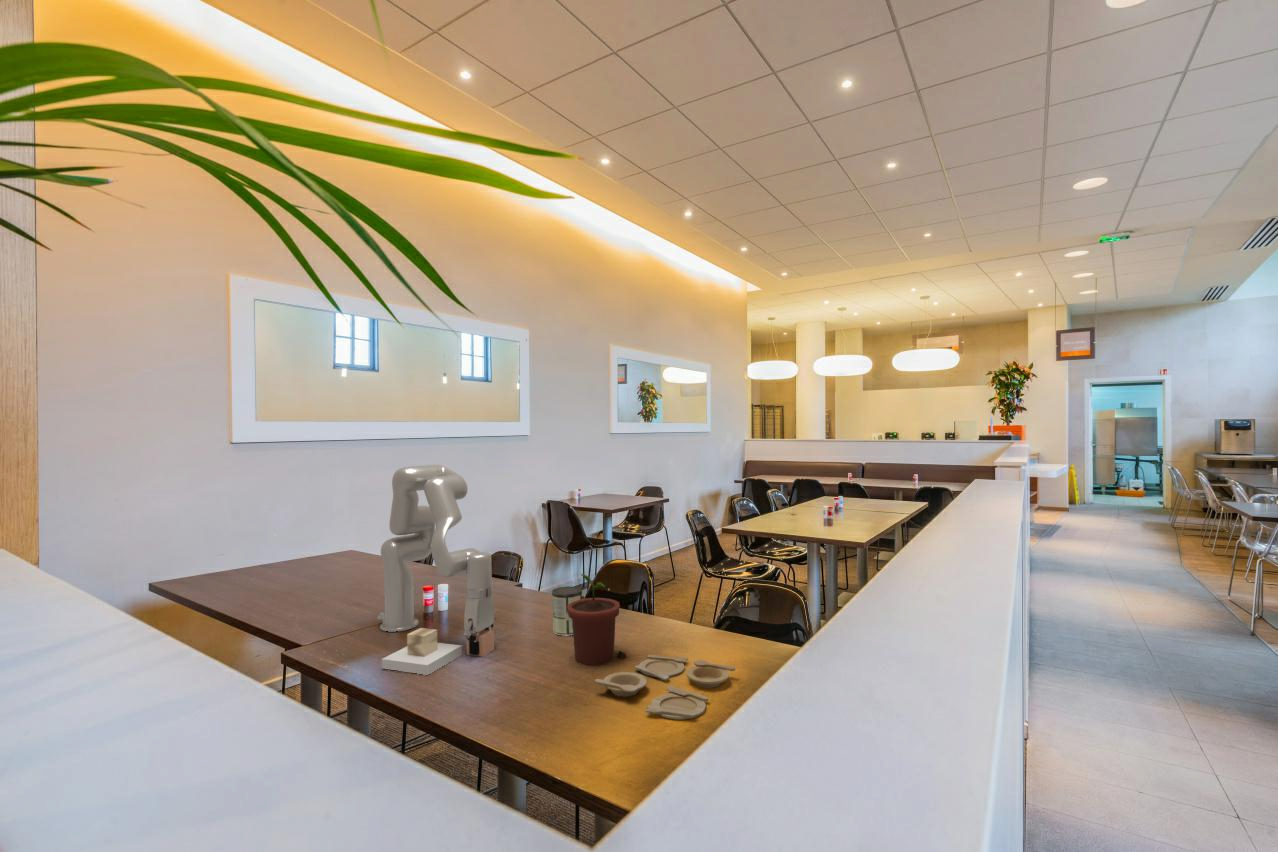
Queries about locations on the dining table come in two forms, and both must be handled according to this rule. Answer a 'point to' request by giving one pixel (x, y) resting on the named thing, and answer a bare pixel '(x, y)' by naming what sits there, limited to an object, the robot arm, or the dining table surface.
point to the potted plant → (594, 628)
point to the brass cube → (422, 642)
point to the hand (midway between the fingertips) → (480, 649)
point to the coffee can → (564, 609)
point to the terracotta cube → (484, 642)
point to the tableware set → (677, 701)
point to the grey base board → (422, 659)
